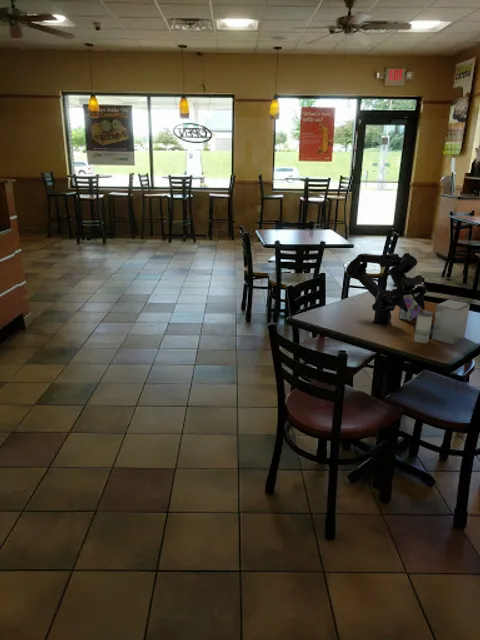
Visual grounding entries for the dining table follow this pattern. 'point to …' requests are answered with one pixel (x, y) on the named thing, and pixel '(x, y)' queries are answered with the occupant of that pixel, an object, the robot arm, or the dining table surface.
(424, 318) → the cup
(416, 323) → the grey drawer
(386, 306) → the robot arm
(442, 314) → the caddy
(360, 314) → the dining table surface
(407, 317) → the candy box
